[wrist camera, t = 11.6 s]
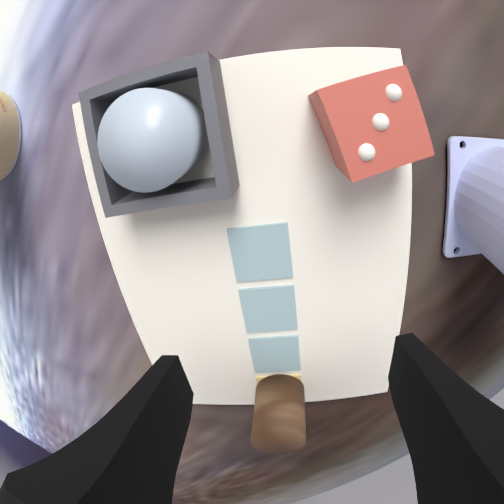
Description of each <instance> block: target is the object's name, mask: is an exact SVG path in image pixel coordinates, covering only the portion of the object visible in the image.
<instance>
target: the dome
mask: <svg viewBox="0 0 504 504" xmlns="http://www.w3.org/2000/svg"><path fill="white" fill-rule="evenodd" d="M97 143H98V152H99V156H100V159H101V162H102V164H103V166H104V168H105V170H106V171H107V173H108V174H109V176H110V177H111V178H112V179H113V180H114V181H115V182H117V183H118V184H119V185H121V186H122V187H124V188H126V189H129V190H132V191H135V192H143V193H148V192H155V191H159V190H161V189H164V188H166V187H167V186H169V185H171V184H172V183H174V182H175V181H177V180H178V179H179V178H181V177H182V176H184V175H185V174H187V173H188V172H189V171H191V170H192V169H193V168H195V167H196V166H197V165H198V163H199V162H200V161H201V160H202V158H203V156H204V155H205V152H206V150H207V147H208V143H209V141H208V135H207V129H206V123H205V117H204V111H203V109H202V108H201V107H200V105H199V104H198V103H197V102H196V101H195V100H193V99H192V98H191V97H189V96H187V95H185V94H183V93H180V92H175V91H169V90H163V89H156V88H139V89H135V90H132V91H129V92H127V93H125V94H123V95H121V96H120V97H119V98H117V99H116V100H115V101H114V102H113V103H112V104H111V105H110V107H109V108H108V109H107V111H106V112H105V114H104V116H103V118H102V120H101V123H100V126H99V130H98V139H97Z"/></svg>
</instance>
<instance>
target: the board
mask: <svg viewBox="0 0 504 504" xmlns="http://www.w3.org/2000/svg"><path fill="white" fill-rule="evenodd" d="M398 66H403V62H402V56H401V50H400V49H396V48H376V47H328V48H308V49H295V50H284V51H274V52H266V53H258V54H251V55H244V56H238V57H232V58H227V59H221V60H217V59H216V58H215V57H214V56H213V55H211V54H210V53H209V52H205V53H200V54H196V55H191V56H187V57H183V58H179V59H175V60H172V61H168V62H164V63H161V64H157V65H154V66H151V67H147V68H144V69H141V70H138V71H135V72H132V73H129V74H126V75H123V76H120V77H117V78H115V79H112V80H109V81H107V82H104V83H101V84H99V85H96V86H94V87H91V88H89V89H86V90H84V91H82V92H79V98H80V102H78V103H75V104H73V105H72V108H73V114H74V120H75V126H76V131H77V137H78V142H79V147H80V151H81V156H82V161H83V165H84V170H85V174H86V178H87V182H88V186H89V190H90V194H91V198H92V201H93V205H94V209H95V212H96V216H97V219H98V223H99V226H100V229H101V233H102V236H103V239H104V242H105V246H106V249H107V252H108V255H109V258H110V261H111V264H112V267H113V269H114V272H115V275H116V278H117V281H118V283H119V286H120V289H121V292H122V294H123V297H124V299H125V302H126V305H127V307H128V310H129V312H130V315H131V317H132V320H133V322H134V324H135V327H136V329H137V332H138V334H139V336H140V338H141V341H142V343H143V345H144V348H145V350H146V352H147V354H148V356H149V359H150V361H151V363H152V365H153V364H154V363H155V362H156V361H157V360H158V359H159V358H160V357H161V355H178V356H179V359H180V362H181V364H182V367H183V369H184V372H185V374H186V376H187V379H188V381H189V384H190V386H191V388H192V391H193V393H194V396H193V404H220V405H252V404H254V403H255V393H256V386H257V384H258V382H259V381H260V380H262V379H263V378H265V377H268V376H271V375H276V374H284V375H290V376H293V377H295V378H297V379H299V380H300V381H301V382H302V383H303V385H304V394H305V402H312V401H323V400H333V399H341V398H349V397H357V396H364V395H371V394H377V393H383V392H387V391H388V386H389V381H388V374H389V370H390V365H391V360H392V354H393V349H394V343H395V337H396V336H399V333H400V327H401V320H402V314H403V307H404V299H405V291H406V283H407V273H408V263H409V250H410V235H411V212H412V163H409V164H406V165H403V166H400V167H397V168H394V169H391V170H388V171H385V172H382V173H379V174H376V175H374V176H371V177H368V178H365V179H362V180H359V181H356V182H353V183H352V182H351V181H350V180H349V179H348V178H347V177H346V176H345V175H344V174H343V173H342V172H341V171H340V170H339V169H338V168H337V167H336V166H335V163H334V160H333V157H332V155H331V152H330V149H329V147H328V144H327V141H326V139H325V136H324V134H323V131H322V129H321V126H320V124H319V121H318V119H317V116H316V114H315V111H314V109H313V107H312V104H311V102H310V99H309V97H308V95H310V94H311V93H313V92H314V91H316V90H318V89H321V88H324V87H327V86H330V85H333V84H336V83H339V82H343V81H346V80H349V79H353V78H356V77H360V76H363V75H367V74H371V73H374V72H378V71H382V70H386V69H390V68H394V67H398ZM139 88H156V89H163V90H169V91H175V92H180V93H183V94H185V95H187V96H189V97H191V98H192V99H193V100H195V101H196V102H197V103H198V104H199V105H200V107H201V108H202V109H203V111H204V117H205V123H206V129H207V135H208V141H209V143H208V147H207V150H206V152H205V155H204V156H203V158H202V160H201V161H200V162H199V163H198V165H197V166H196V167H195V168H193V169H192V170H191V171H189V172H188V173H187V174H185V175H184V176H182V177H181V178H179V179H178V180H177V181H175V182H174V183H172V184H171V185H169V186H167V187H166V188H164V189H161V190H159V191H155V192H148V193H143V192H135V191H132V190H129V189H126V188H124V187H122V186H121V185H119V184H118V183H117V182H115V181H114V180H113V179H112V178H111V177H110V176H109V174H108V173H107V171H106V170H105V168H104V166H103V164H102V162H101V159H100V156H99V152H98V143H97V139H98V130H99V126H100V123H101V120H102V118H103V116H104V114H105V112H106V111H107V109H108V108H109V107H110V105H111V104H112V103H113V102H114V101H115V100H116V99H117V98H119V97H120V96H121V95H123V94H125V93H127V92H129V91H132V90H135V89H139Z"/></svg>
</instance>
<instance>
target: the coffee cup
mask: <svg viewBox="0 0 504 504" xmlns="http://www.w3.org/2000/svg"><path fill="white" fill-rule="evenodd" d="M21 137H22V127H21V118H20V114H19V110H18V107H17V105H16V103H15V101H14V99H13V98H12V97H11V96H10V95H9V94H8V93H6V92H4V91H0V180H2V179H4V178H5V177H6V176H7V175H9V173H10V172H11V171H12V169H13V168H14V166H15V164H16V161H17V159H18V156H19V152H20V147H21Z"/></svg>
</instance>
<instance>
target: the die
mask: <svg viewBox="0 0 504 504" xmlns="http://www.w3.org/2000/svg"><path fill="white" fill-rule="evenodd" d="M308 97H309V99H310V102H311V104H312V107H313V109H314V111H315V114H316V116H317V119H318V121H319V124H320V126H321V129H322V131H323V134H324V136H325V139H326V141H327V144H328V147H329V149H330V152H331V155H332V157H333V160H334V163H335V166H336V167H337V168H338V169H339V170H340V171H341V172H342V173H343V174H344V175H345V176H346V177H347V178H348V179H349V180H350V181H351V182H352V183H353V182H356V181H359V180H362V179H365V178H368V177H371V176H374V175H376V174H379V173H382V172H385V171H388V170H391V169H394V168H397V167H400V166H403V165H406V164H409V163H412V162H415V161H418V160H421V159H424V158H427V157H430V156H434V155H435V154H434V150H433V147H432V143H431V139H430V135H429V132H428V128H427V125H426V122H425V118H424V115H423V112H422V109H421V106H420V103H419V100H418V97H417V94H416V91H415V88H414V85H413V83H412V80H411V77H410V75H409V72H408V70H407V67H406V65H403V66H398V67H394V68H390V69H386V70H382V71H378V72H374V73H371V74H367V75H363V76H360V77H356V78H353V79H349V80H346V81H343V82H339V83H336V84H333V85H330V86H327V87H324V88H321V89H318V90H316V91H314V92H313V93H311V94H310V95H308Z"/></svg>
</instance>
